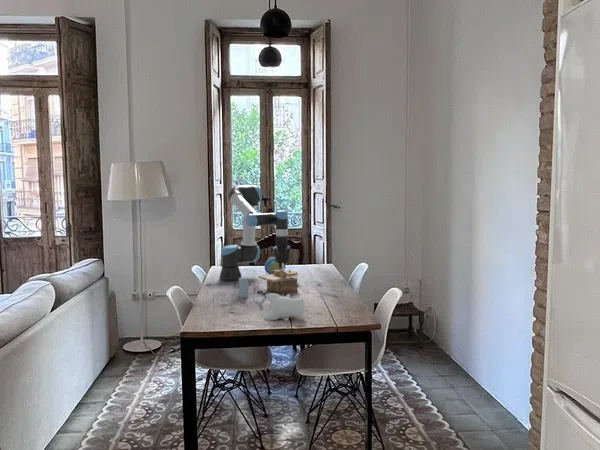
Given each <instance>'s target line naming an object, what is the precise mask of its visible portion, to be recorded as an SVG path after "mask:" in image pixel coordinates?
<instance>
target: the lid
mask: <svg viewBox="0 0 600 450" xmlns="http://www.w3.org/2000/svg"><path fill="white" fill-rule="evenodd" d="M258 279H261V280H265V281H266V282H267V281H271V282H278V281H285V280H291V278H290V277H287V273H286V272H283V271H279V270H273V274H264V275H258Z"/></svg>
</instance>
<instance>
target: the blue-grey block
mask: <svg viewBox="0 0 600 450" xmlns="http://www.w3.org/2000/svg"><path fill="white" fill-rule="evenodd" d="M238 296H239V298H249V278H248V277H245V276H243V277H242V276H241V278H239V280H238Z"/></svg>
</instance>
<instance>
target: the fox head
mask: <svg viewBox="0 0 600 450" xmlns="http://www.w3.org/2000/svg"><path fill="white" fill-rule="evenodd" d="M264 296H265V298H267V300H268V302H269V303H270V305H271V309H270V310H269V311H268V312H267V313H266V314H265V315H264V316H263V320H266V321H277V320H280V319H281V320H284V321H286V322H288V320H289V319H290V318H291V317H292V318H297V319H301V318H303V315H304V311H305V301H304V299H303V297H302V298H301V297H299V298H298V297H297V298H291V295H290V294H287V295H284V296H283V295H281V294H279V293H276V292H274V293H273V292H272V293H271V292H270V293H269V294H266V295H264Z"/></svg>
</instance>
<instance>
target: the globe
mask: <svg viewBox="0 0 600 450" xmlns="http://www.w3.org/2000/svg"><path fill="white" fill-rule="evenodd" d="M264 270H265V272H266V273H267V275H270V274H273V270H279V271H280V268H279V263H277V262H276V259H275V256H269V257H267V260H266V261H265V263H264ZM284 270H286V267H285V268H284Z"/></svg>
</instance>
